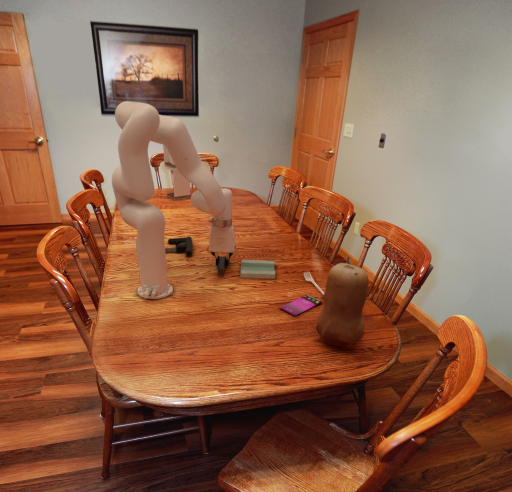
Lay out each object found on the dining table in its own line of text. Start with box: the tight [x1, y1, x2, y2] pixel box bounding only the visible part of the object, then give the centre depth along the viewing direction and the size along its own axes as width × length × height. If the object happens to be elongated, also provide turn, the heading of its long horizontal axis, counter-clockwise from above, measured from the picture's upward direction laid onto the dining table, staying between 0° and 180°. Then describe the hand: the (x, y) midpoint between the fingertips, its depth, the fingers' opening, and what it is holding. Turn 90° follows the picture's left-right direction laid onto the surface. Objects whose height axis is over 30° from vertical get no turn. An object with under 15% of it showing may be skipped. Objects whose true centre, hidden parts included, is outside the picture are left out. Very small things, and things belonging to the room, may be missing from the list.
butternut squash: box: [315, 262, 369, 348], centre depth 115 cm, size 14×13×25 cm
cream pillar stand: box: [162, 144, 192, 201], centre depth 253 cm, size 11×11×35 cm
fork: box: [303, 271, 325, 296], centre depth 155 cm, size 3×20×2 cm, turn 15°
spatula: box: [216, 255, 231, 276], centre depth 164 cm, size 18×6×3 cm, turn 0°
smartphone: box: [279, 293, 323, 317], centre depth 141 cm, size 7×15×1 cm, turn 134°
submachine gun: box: [165, 236, 195, 257], centre depth 183 cm, size 3×20×16 cm
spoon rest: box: [239, 259, 276, 280], centre depth 165 cm, size 14×14×2 cm
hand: (222, 266), depth 164 cm, fingers closed on spatula, 2 cm apart
